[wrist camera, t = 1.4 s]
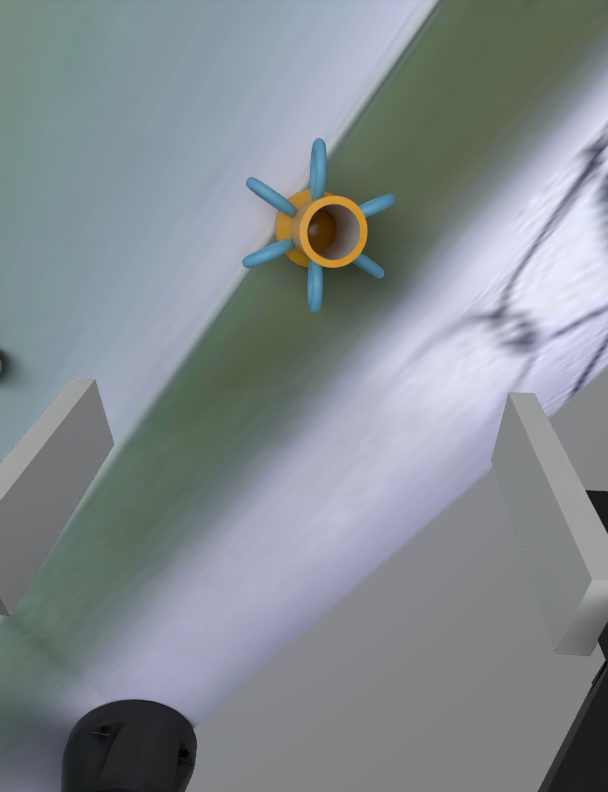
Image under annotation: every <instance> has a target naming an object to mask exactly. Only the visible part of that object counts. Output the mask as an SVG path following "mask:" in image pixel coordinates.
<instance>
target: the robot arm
mask: <svg viewBox="0 0 608 792" xmlns="http://www.w3.org/2000/svg"><path fill="white" fill-rule="evenodd" d="M113 446H114V442H113V438H112V435H111V431H110V428H109V425H108V421H107V418H106V414H105V411H104V408H103V404H102V401H101V398H100V394H99V391H98V387H97V384H96V381H95V379H75V378H72V380H71V381H70V382H69V383H68V384H67V385H66V387H65V388H64V389H63V390H62V391H61V392H60V394H59V395H58V396H57V397H56V398H55V400H54V401H53V402H52V403H51V404H50V405H49V407H48V408H47V409H46V410H45V411H44V412H43V414H42V415H41V416H40V417H39V418H38V420H37V421H36V422H35V423H34V424H33V425H32V427H31V428H30V429H29V430H28V431H27V432H26V434H25V435H24V436H23V437H22V438H21V440H20V441H19V442H18V443H17V444H16V445H15V447H14V448H13V449H12V450H11V451H10V452H9V454H8V455H7V456H6V457H5V458H4V460H3V461H2V462H1V463H0V615H6V616H11V615H12V613H13V611H14V610H15V608H16V606H17V605H18V603H19V601H20V600H21V598H22V596H23V595H24V593H25V591H26V590H27V588H28V586H29V585H30V583H31V581H32V580H33V578H34V576H35V575H36V573H37V571H38V570H39V568H40V567H41V565H42V563H43V562H44V560H45V558H46V557H47V555H48V553H49V552H50V550H51V548H52V547H53V545H54V543H55V542H56V540H57V538H58V537H59V535H60V533H61V532H62V530H63V528H64V527H65V525H66V523H67V522H68V520H69V518H70V517H71V515H72V514H73V512H74V510H75V509H76V507H77V505H78V504H79V502H80V500H81V499H82V497H83V495H84V494H85V492H86V490H87V489H88V487H89V485H90V484H91V482H92V480H93V479H94V477H95V475H96V474H97V472H98V470H99V469H100V467H101V465H102V464H103V462H104V461H105V459H106V457H107V456H108V454H109V452H110V451H111V449H112V447H113ZM491 461H492V464H493V467H494V470H495V473H496V476H497V479H498V482H499V485H500V488H501V491H502V494H503V497H504V500H505V503H506V506H507V509H508V512H509V515H510V518H511V521H512V524H513V527H514V530H515V533H516V536H517V539H518V542H519V546H520V548H521V552H522V555H523V557H524V560H525V564H526V567H527V569H528V572H529V576H530V578H531V582H532V585H533V588H534V591H535V594H536V597H537V600H538V603H539V606H540V608H541V612H542V615H543V618H544V621H545V624H546V627H547V630H548V633H549V636H550V639H551V642H552V645H553V648H554V651H555V653H556V654H566V655H580V656H590V655H591V654H592V652H593V650H594V649H595V647H596V645H597V643H598V642H599V645H600V647H601V649H602V652H603V654H604V657H605V659H606V660H605V662H604V664H603V665H602V667H601V668H600V670H599V672H598V673H597V675H596V677H595V679H594V680H593V682H592V686H591V688H590V691H589V692H588V694H587V696H586V698H585V700H584V702H583V704H582V706H581V708H580V710H579V712H578V714H577V716H576V718H575V720H574V722H573V724H572V726H571V728H570V730H569V731H568V733H567V735H566V737H565V739H564V741H563V743H562V746H561V747H560V749H559V751H558V753H557V755H556V757H555V759H554V761H553V763H552V765H551V767H550V769H549V771H548V773H547V775H546V777H545V778H544V781H543V782H542V784H541V786H540V789H539V790H538V792H608V492H607V491H590V490H585V489H584V488H583V486H582V484H581V482H580V480H579V478H578V476H577V474H576V472H575V470H574V468H573V466H572V465H571V463H570V461H569V459H568V457H567V455H566V453H565V451H564V449H563V447H562V445H561V443H560V442H559V439H558V438H557V436H556V434H555V432H554V430H553V428H552V426H551V424H550V422H549V420H548V418H547V416H546V414H545V413H544V411H543V409H542V407H541V405H540V403H539V401H538V399H537V397H536V395H535V393H510V392H509V393H508V397H507V401H506V405H505V409H504V413H503V416H502V420H501V424H500V428H499V432H498V436H497V440H496V444H495V447H494V451H493V455H492V459H491ZM196 750H197V741H196V736H195V733H194V731H193V729H192V727H191V726H190V724H189V723H188V722H187V721H186V720H185V719H184V718H183V717H182V716H181V715H180V714H178V713H177V712H175V711H173V710H172V709H170V708H168V707H165V706H163V705H160V704H156V703H152V702H147V701H135V700H131V701H120V702H114V703H110V704H107V705H104V706H101V707H99V708H97V709H94V710H93V711H91V712H89V713H88V714H86V715H85V716H84V717H83V718H82V719H80V721H79V722H78V723H77V724H76V725H75V727H74V728H73V730H72V732H71V734H70V737H69V740H68V742H67V745H66V748H65V751H64V755H63V760H62V783H61V792H185V790H186V787H187V785H188V783H189V781H190V778H191V776H192V774H193V770H194V766H195V758H196Z"/></svg>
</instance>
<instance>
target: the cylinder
mask: <svg viewBox="0 0 608 792" xmlns="http://www.w3.org/2000/svg"><path fill="white" fill-rule="evenodd" d="M326 170H327V155H326V145H325V142H324V141H323V140H322V139H320V138H318V139H316V140H315V141H314V143H313V146H312V152H311V163H310V189H307V190H303V191H300V192H298V193H296V194H294V195H293V196H291V197H290V198H289V199H288V200H286V199H285V198H284V197H282V196H281V195H280V194H278V193H277V192H276V191H274V190H273V189H271V188H270V187H268V186H267V185H265V184H264V183H262V182H261V181H259V180H257V179H256V178H253V177H250V178H248V179H247V181H246V185H247V187H248V188H249V189H250V190H251V191H253V192H254V193H255V194H256V195H258V196H259V197H260V198H262V199H263V200H265V201H266V202H267V203H269V204H270V205H272V206H273V207H275V208H276V209H277V210H279V211H278V214H277V216H276V220H275V236H276V240H277V242H276V243H274V244H272V245H269V246H267V247H265V248H263V249H260V250H258V251H256V252H254V253H252V254H250V255H248V256H247V257H245V258H244V259H243V262H242V263H243V266H244V267H246V268H251V267H254V266H257V265H260V264H262V263H265V262H267V261H270V260H272V259H274V258H276V257H278V256H280V255H282V254H285V255H286V256H287V257H288V258H289V259H290V260H291V261H292V262H294V263H296V264H298V265H300V266H303V267H307V268H308V305H309V309H310V311H311V312H313V313H316V312H318V311H319V310H320V307H321V302H322V291H323V272H322V267H330V268H336V267H341V266H344V265H347V264H349V263H350V262H352V263H354V264H355V265H357V266H358V267H360V268H361V269H363V270H364V271H366V272H367V273H369V274H370V275H372V276H374V277H375V278H378V279H380V278H382V277H383V276H384V270H383V269H382V268H381V267H380V266H379V265H377V264H376V263H375V262H373V261H372V260H371V259H369V258H368V257H367V256H365V255H364V254H362V253H361V252H362V250H363V248H364V246H365V243H366V239H367V223H366V219H365V218H366V217H368V216H371V215H373V214H375V213H378V212H380V211H382V210H384V209H386V208H388V207H390V206H391V205H393V204H394V203H395V200H396V198H395V196H394V195H393V194H386V195H383V196H380V197H378V198H375V199H373V200H370V201H368V202H366V203H363V204H361V205H359V206H357V205H356V204H355V203H354V202H353V201H351V200H349V199H347V198H345V197H341V196H335V195H333V194H331V193H329V192H327V191H325V185H326Z"/></svg>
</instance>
